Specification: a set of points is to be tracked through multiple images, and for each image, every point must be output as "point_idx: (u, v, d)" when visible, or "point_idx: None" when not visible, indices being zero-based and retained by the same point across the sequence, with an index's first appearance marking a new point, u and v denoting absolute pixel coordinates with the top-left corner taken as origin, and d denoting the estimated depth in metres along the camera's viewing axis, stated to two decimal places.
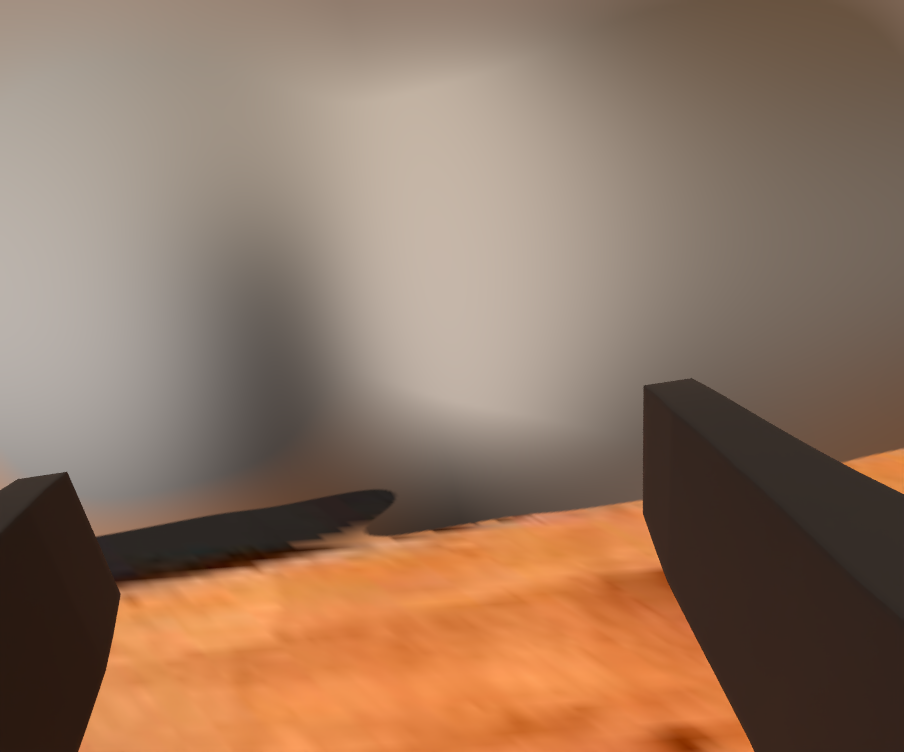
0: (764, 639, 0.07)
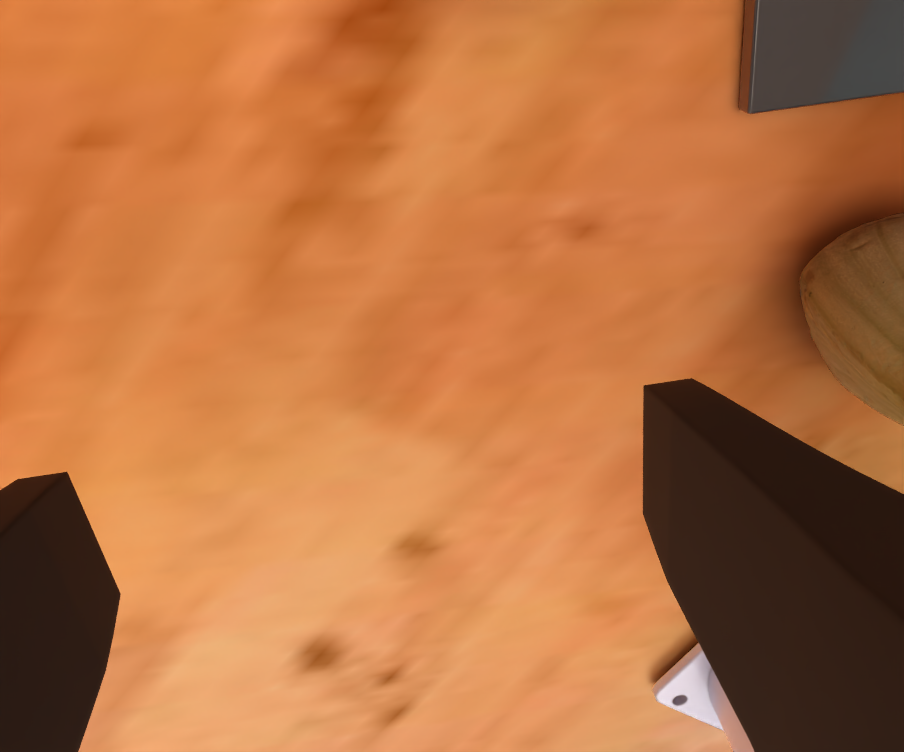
0: (764, 639, 0.07)
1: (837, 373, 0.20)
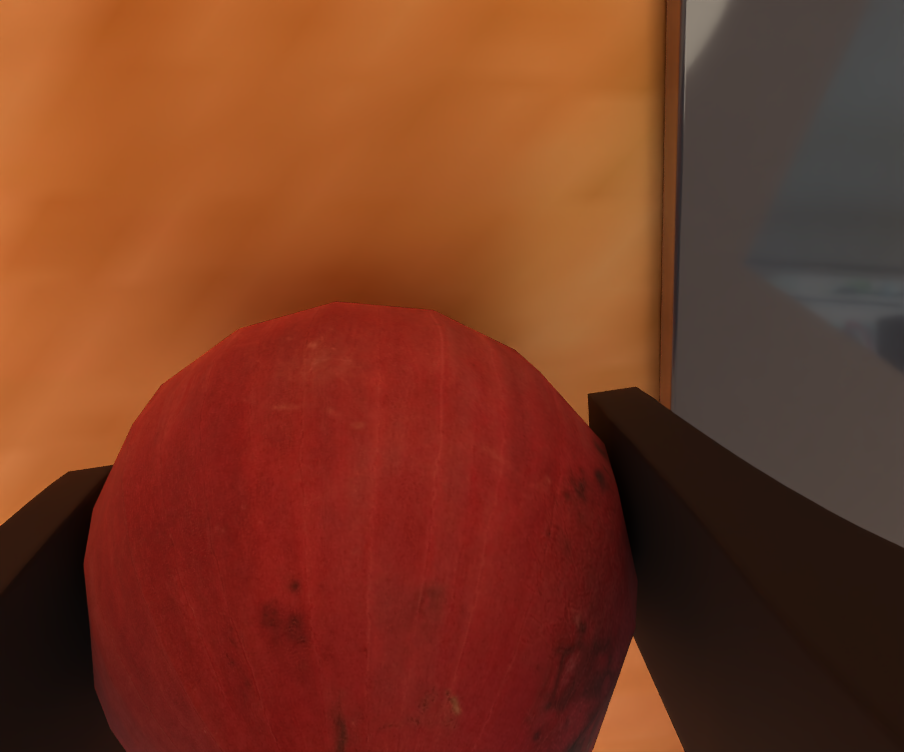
0: (692, 651, 0.07)
1: None
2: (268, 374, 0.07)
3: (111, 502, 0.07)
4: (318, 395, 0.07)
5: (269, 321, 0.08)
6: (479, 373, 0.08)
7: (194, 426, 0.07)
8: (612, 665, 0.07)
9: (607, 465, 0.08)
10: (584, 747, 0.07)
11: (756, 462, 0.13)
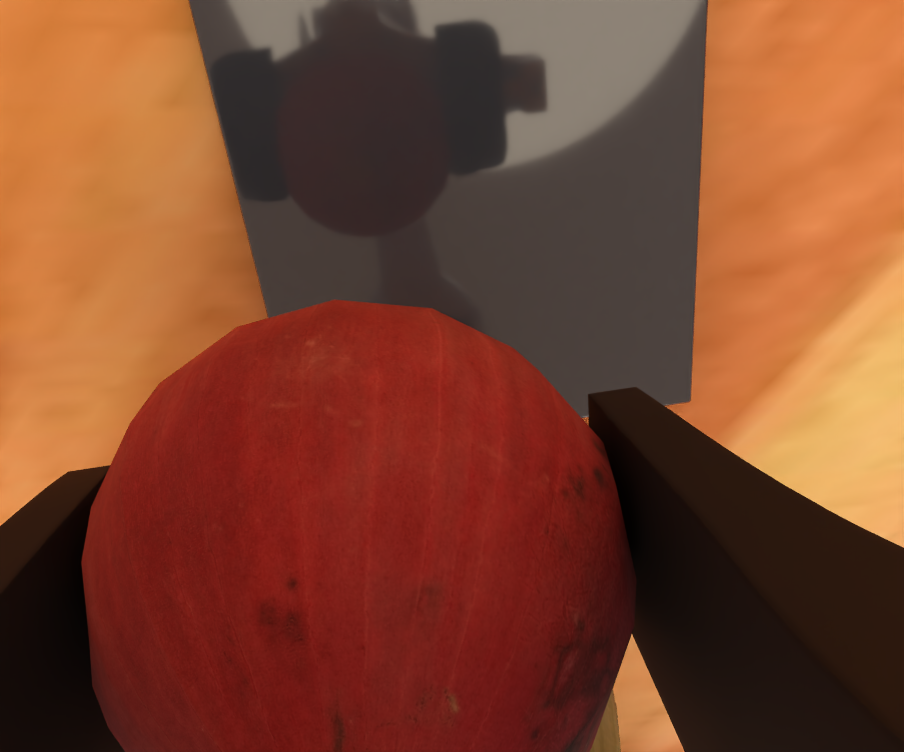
0: (692, 651, 0.07)
1: None
2: (267, 372, 0.07)
3: (109, 500, 0.07)
4: (315, 393, 0.07)
5: (268, 319, 0.08)
6: (479, 370, 0.08)
7: (192, 424, 0.07)
8: (611, 663, 0.07)
9: (606, 463, 0.08)
10: (583, 745, 0.07)
11: (327, 301, 0.18)
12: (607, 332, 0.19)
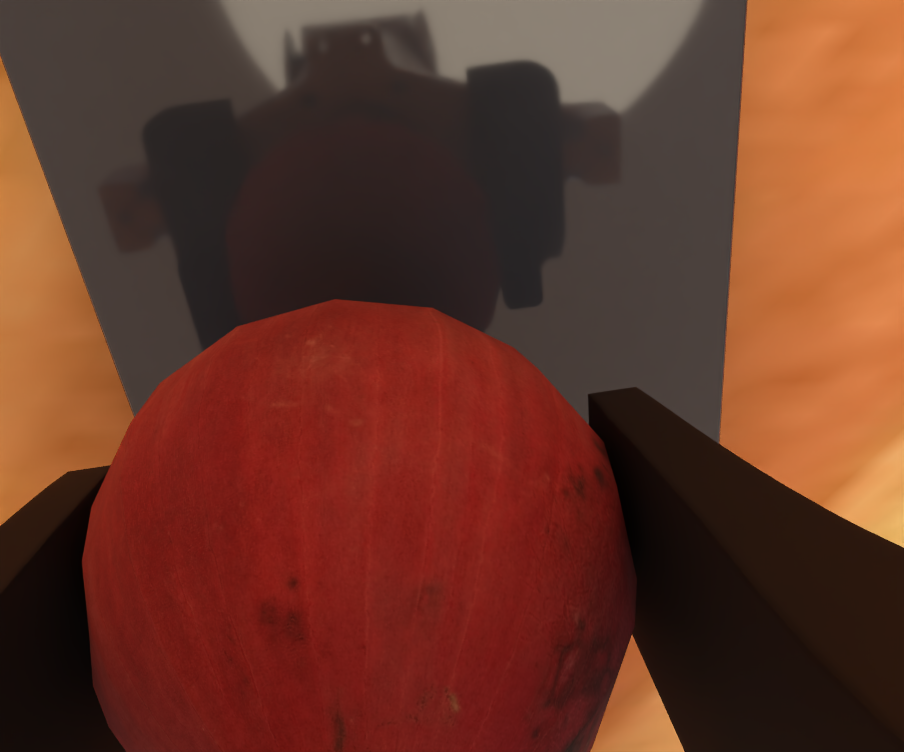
0: (692, 651, 0.07)
1: None
2: (267, 372, 0.07)
3: (109, 500, 0.07)
4: (316, 393, 0.07)
5: (268, 319, 0.08)
6: (479, 370, 0.08)
7: (191, 424, 0.07)
8: (611, 663, 0.07)
9: (606, 463, 0.08)
10: (583, 745, 0.07)
11: None
12: None
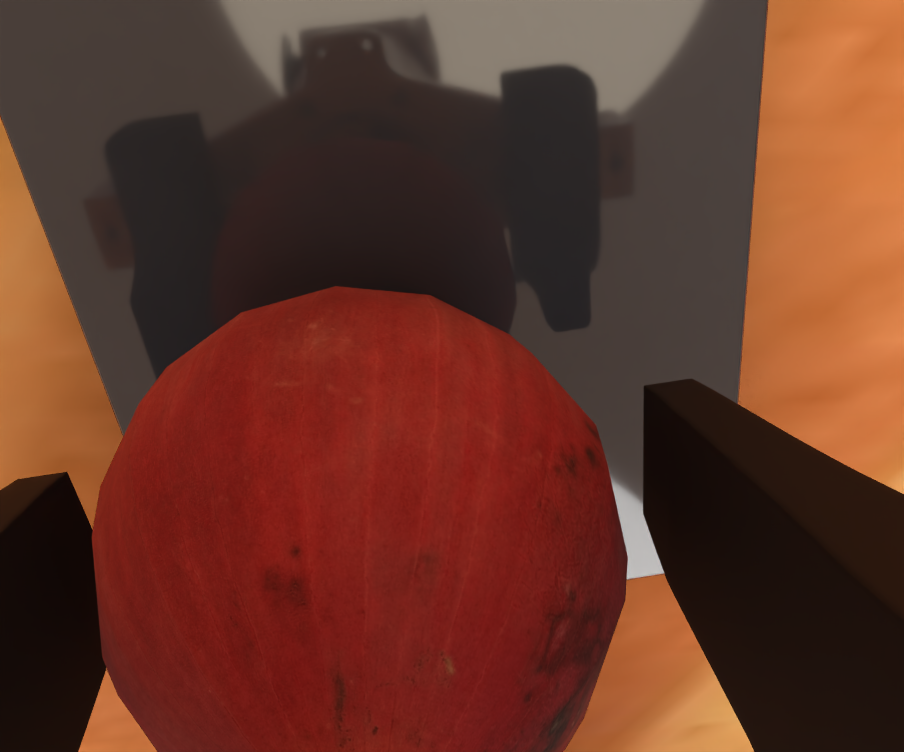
0: (764, 639, 0.07)
1: None
2: (271, 353, 0.07)
3: (119, 477, 0.08)
4: (317, 373, 0.07)
5: (271, 305, 0.09)
6: (474, 353, 0.08)
7: (199, 402, 0.07)
8: (602, 634, 0.08)
9: (598, 444, 0.09)
10: (574, 713, 0.07)
11: None
12: (615, 483, 0.14)
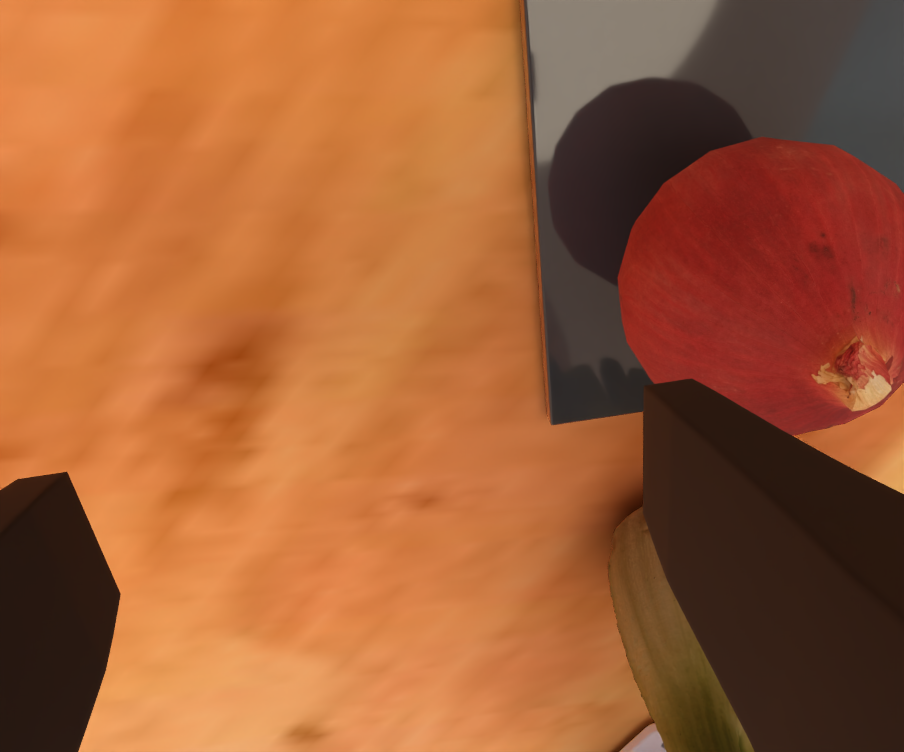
0: (764, 639, 0.07)
1: None
2: (766, 158, 0.14)
3: (682, 224, 0.14)
4: (801, 163, 0.14)
5: (728, 146, 0.16)
6: (863, 162, 0.15)
7: (737, 180, 0.14)
8: None
9: None
10: None
11: (598, 276, 0.20)
12: None
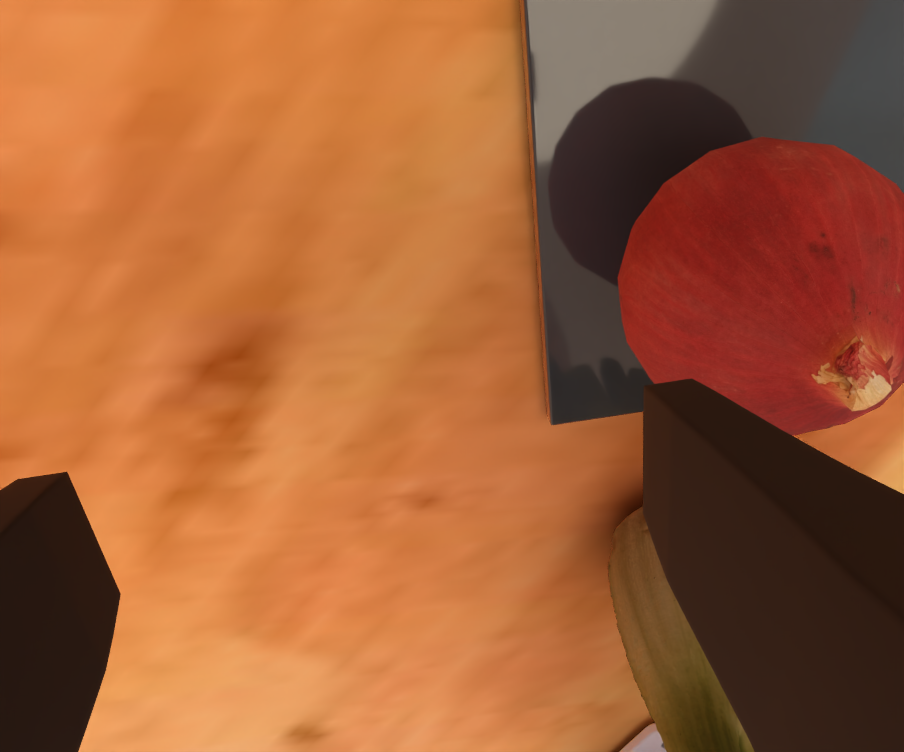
0: (764, 639, 0.07)
1: None
2: (766, 158, 0.14)
3: (682, 224, 0.14)
4: (801, 163, 0.14)
5: (728, 146, 0.16)
6: (863, 162, 0.15)
7: (737, 180, 0.14)
8: None
9: None
10: None
11: (598, 276, 0.20)
12: None
